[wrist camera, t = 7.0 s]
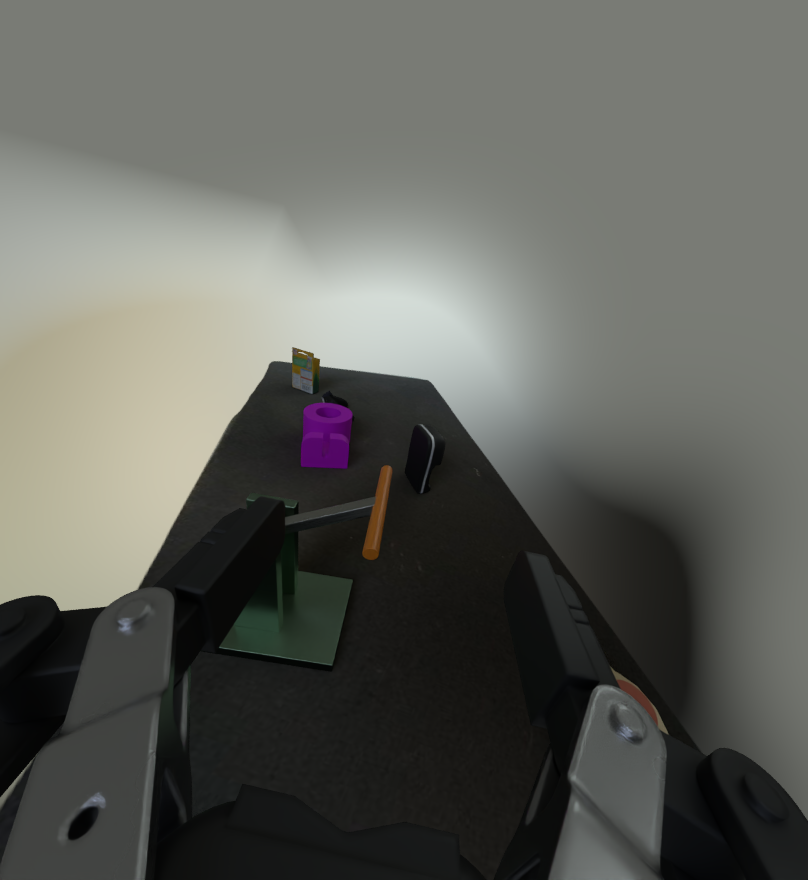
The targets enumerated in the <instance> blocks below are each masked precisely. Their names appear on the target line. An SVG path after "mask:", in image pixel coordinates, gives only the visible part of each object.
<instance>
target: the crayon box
mask: <svg viewBox="0 0 808 880" xmlns="http://www.w3.org/2000/svg"><path fill="white" fill-rule="evenodd" d="M292 352H293V356H292V361H293V362H292V387H293V388H297V389H300V390H302V391H305V392H308V393H311V394H314V393H316V392H318V388H319V364H320V359H317V358H314V357H313V356H314V354H313V353H310V352H306V351H303V350H300V349H297V348H293V351H292ZM298 352H304V353H305V354H307V355H308V356H307V355H304V354H301V353H298Z"/></svg>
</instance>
